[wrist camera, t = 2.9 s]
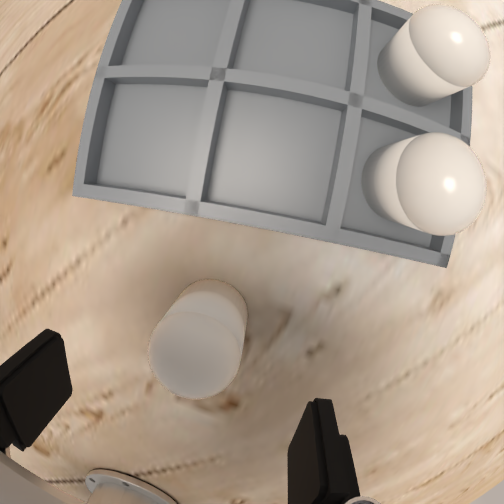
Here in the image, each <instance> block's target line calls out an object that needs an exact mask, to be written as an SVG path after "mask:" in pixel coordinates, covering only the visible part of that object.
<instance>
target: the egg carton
mask: <svg viewBox="0 0 504 504" xmlns="http://www.w3.org/2000/svg"><path fill="white" fill-rule="evenodd" d="M412 15H413V14H412V13H410V12H407V11H405V10H402V9H400V8H397V7H395V6H392V5H389V4H387V3H384V2H381V1H378V0H122V2H121V4H120V7H119V9H118V11H117V14H116V16H115V19H114V21H113V24H112V26H111V29H110V32H109V35H108V37H107V40H106V43H105V46H104V49H103V52H102V55H101V58H100V61H99V64H98V68H97V71H96V75H95V78H94V82H93V85H92V89H91V93H90V97H89V101H88V105H87V109H86V114H85V118H84V123H83V128H82V133H81V138H80V144H79V150H78V156H77V163H76V170H75V177H74V186H73V195H72V196H76V197H83V198H89V199H96V200H102V201H109V202H115V203H121V204H127V205H133V206H139V207H145V208H151V209H157V210H163V211H169V212H175V213H180V214H186V215H192V216H197V217H203V218H208V219H214V220H219V221H225V222H230V223H235V224H241V225H246V226H251V227H256V228H262V229H267V230H272V231H277V232H282V233H287V234H292V235H297V236H302V237H307V238H312V239H317V240H322V241H327V242H332V243H336V244H341V245H346V246H351V247H355V248H360V249H365V250H369V251H374V252H378V253H383V254H388V255H392V256H397V257H401V258H406V259H410V260H414V261H419V262H423V263H427V264H432V265H436V266H440V267H445V268H447V265H448V261H449V258H450V254H451V250H452V246H453V242H454V238H455V234H453V235H448V236H437V235H432V234H428V233H425V232H422V231H420V230H417V229H414V228H411V227H408V226H405V225H402V224H399V223H396V222H393V221H389V220H386V219H384V218H382V217H380V216H379V215H377V214H376V213H375V212H374V211H373V210H372V209H371V208H370V206H369V205H368V203H367V201H366V199H365V197H364V194H363V191H362V184H361V177H362V171H363V167H364V165H365V162H366V161H367V159H368V157H369V156H370V155H371V154H372V153H373V152H374V151H375V150H377V149H378V148H380V147H383V146H385V145H389V144H392V143H395V142H398V141H401V140H405V139H408V138H411V137H415V136H418V135H421V134H425V133H431V132H440V133H446V134H450V135H452V136H455V137H457V138H459V139H461V140H462V141H463V142H465V143H466V144H467V145H468V146H469V147H470V137H471V121H472V86H470V87H468V88H465V89H463V90H460V91H458V92H456V93H454V94H451V95H449V96H447V97H444V98H442V99H440V100H438V101H435V102H433V103H431V104H429V105H426V106H421V107H416V106H411V105H408V104H406V103H403V102H402V101H400V100H398V99H397V98H396V97H394V96H393V95H392V94H391V93H390V92H389V91H388V89H387V88H386V87H385V85H384V84H383V82H382V80H381V78H380V76H379V73H378V69H377V59H378V55H379V53H380V51H381V50H382V49H383V48H384V46H385V45H386V44H387V43H388V42H389V41H390V40H391V38H392V37H393V36H394V35H395V34H396V33H397V32H398V31H399V29H400V28H401V27H402V26H403V25H404V24H405V23H406V22H407V21H408V19H409V18H410V17H411V16H412Z"/></svg>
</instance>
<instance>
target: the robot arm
mask: <svg viewBox="0 0 504 504" xmlns="http://www.w3.org/2000/svg"><path fill="white" fill-rule="evenodd" d="M71 394H72V385H71V380H70V375H69V370H68V364H67V359H66V353H65V346H64V341H63V339H62V338H61V335H60V334H59V333H57V332H55V331H52V330H50V329H45V330H44V331H43V332H41V333H40V334H39V335H38V336H36V337H35V338H34V339H33V340H31V341H30V342H29V343H27V344H26V345H25V346H24V347H22V348H21V349H20V350H19V351H18V352H16V353H15V354H14V355H13V356H11V357H10V358H9V359H8V360H7V361H5V362H4V363H3V364H2V365H1V366H0V504H177V503H176V502H175V501H174V500H173V499H171V498H170V497H169V496H168V495H166V494H165V493H163V492H162V491H160V490H158V489H157V488H155V487H153V486H151V485H149V484H147V483H145V482H143V481H140V480H138V479H136V478H133V477H130V476H128V475H125V474H122V473H118V472H115V471H110V470H103V469H98V470H92V471H90V472H89V473H88V475H87V477H86V479H85V483H86V485H87V488H88V489H89V491H90V492H91V493H92V494H91V496H90V498H89V500H88V502H87V503H86V502H84V501H82V500H80V499H78V498H76V497H74V496H72V495H70V494H68V493H66V492H64V491H62V490H61V489H59V488H57V487H55V486H53V485H52V484H50V483H48V482H46V481H45V480H43V479H41V478H40V477H38V476H36V475H35V474H33V473H31V472H30V471H28V470H27V469H25V468H24V467H22V466H21V465H19V464H18V463H16V462H15V461H13V460H12V459H11V456H10V447H9V446H10V445H11V444H13V445H14V446H15V447H17V448H18V449H20V450H21V451H24V450H25V448H26V447H30V446H31V445H32V444H33V442H34V441H35V440H36V439H37V437H38V436H39V435H40V433H41V432H42V431H43V430H44V428H45V427H46V426H47V425H48V423H49V422H50V421H51V420H52V418H53V417H54V416H55V415H56V413H57V412H58V411H59V410H60V408H61V407H62V406H63V405H64V404H65V402H66V401H67V400H68V399H69V397H70V396H71ZM288 504H381V503H379V502H378V501H377V500H375V499H373V498H370V497H364V496H361V497H360V492H359V487H358V482H357V477H356V472H355V468H354V463H353V458H352V454H351V449H350V445H349V440H348V438H347V436H346V435H339V431H338V426H337V422H336V417H335V412H334V407H333V403H332V400H331V399H321V398H315V399H314V401H313V402H311V401H309V402H308V404H307V406H306V409H305V411H304V413H303V416H302V418H301V420H300V423H299V425H298V427H297V430H296V432H295V434H294V436H293V439H292V441H291V443H290V445H289V448H288Z"/></svg>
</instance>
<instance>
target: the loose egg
mask: <svg viewBox="0 0 504 504" xmlns="http://www.w3.org/2000/svg"><path fill="white" fill-rule="evenodd" d="M247 319H248V311H247V306H246V303H245V301H244V299H243V297H242V296H241V294H240V293H239V292H238V291H237V290H236V289H235V288H234V287H232V286H231V285H229V284H227V283H225V282H223V281H219V280H214V279H204V280H199V281H196V282H194V283H192V284H190V285H189V286H188V287H187V288H186V289H185V290H184V291H183V292H182V293H181V295H180V296H179V297H178V298H177V300H176V301H175V302H174V303H173V305H172V306H171V307H170V309H169V310H168V311H167V312H166V314H165V315H164V316H163V318H162V319H161V320H160V322H159V323H158V324H157V326H156V327H155V328H154V330H153V332H152V334H151V336H150V340H149V343H148V360H149V365H150V368H151V370H152V372H153V374H154V376H155V378H156V379H157V380H158V382H159V383H160V384H161V385H162V386H163V387H164V388H166V389H167V390H168V391H170V392H171V393H173V394H175V395H177V396H180V397H183V398H188V399H204V398H208V397H212V396H214V395H216V394H218V393H220V392H222V391H223V390H224V389H226V388H227V387H228V386H229V385H230V383H231V382H232V381H233V380H234V378H235V376H236V374H237V372H238V369H239V366H240V362H241V356H242V350H243V344H244V338H245V332H246V325H247Z"/></svg>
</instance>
